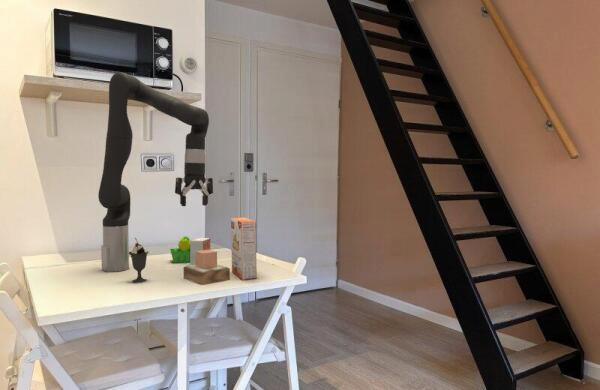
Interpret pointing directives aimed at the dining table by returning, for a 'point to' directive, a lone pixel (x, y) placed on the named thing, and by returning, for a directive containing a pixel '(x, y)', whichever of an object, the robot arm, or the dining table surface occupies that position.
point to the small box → (198, 247)
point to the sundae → (138, 261)
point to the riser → (206, 274)
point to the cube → (206, 259)
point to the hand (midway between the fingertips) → (194, 205)
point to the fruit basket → (182, 251)
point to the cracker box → (243, 248)
